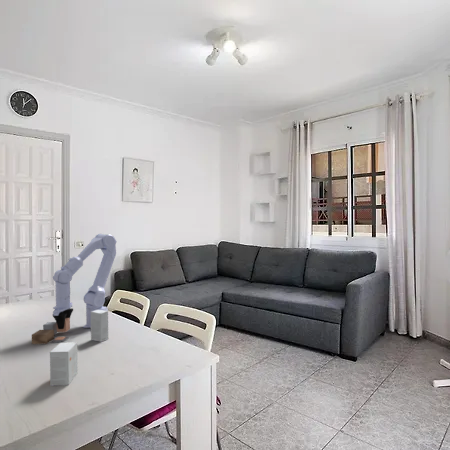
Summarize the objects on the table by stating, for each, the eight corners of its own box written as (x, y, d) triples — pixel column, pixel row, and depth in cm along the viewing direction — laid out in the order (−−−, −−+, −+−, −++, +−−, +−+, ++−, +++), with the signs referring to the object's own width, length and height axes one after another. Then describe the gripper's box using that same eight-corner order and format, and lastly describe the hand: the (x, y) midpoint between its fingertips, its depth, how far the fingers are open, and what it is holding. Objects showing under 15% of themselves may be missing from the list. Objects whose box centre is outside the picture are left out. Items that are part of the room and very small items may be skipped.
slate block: (57, 333, 148) (56, 321, 148) (52, 336, 144) (52, 324, 144) (47, 333, 148) (47, 322, 148) (43, 336, 144) (43, 324, 144)
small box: (60, 374, 109) (60, 342, 109) (78, 373, 109) (77, 341, 109) (49, 386, 101) (49, 352, 101) (68, 385, 101) (68, 351, 101)
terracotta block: (70, 328, 150) (69, 317, 150) (66, 331, 146) (65, 320, 146) (61, 329, 150) (60, 318, 150) (56, 332, 146) (56, 320, 146)
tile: (68, 337, 142) (68, 335, 142) (63, 342, 137) (63, 340, 137) (56, 337, 142) (56, 336, 142) (51, 342, 137) (51, 340, 137)
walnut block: (54, 339, 141) (53, 329, 141) (46, 344, 135) (46, 334, 135) (40, 339, 141) (40, 329, 141) (31, 344, 135) (31, 334, 135)
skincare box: (108, 338, 141) (108, 310, 140) (101, 342, 137) (100, 313, 137) (98, 336, 143) (97, 309, 143) (90, 340, 139) (90, 311, 139)
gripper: (61, 293, 155) (61, 322, 155) (45, 301, 140) (46, 332, 141) (76, 293, 155) (77, 321, 155) (62, 300, 141) (63, 332, 141)
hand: (63, 327), depth 148 cm, fingers closed on terracotta block, 4 cm apart
